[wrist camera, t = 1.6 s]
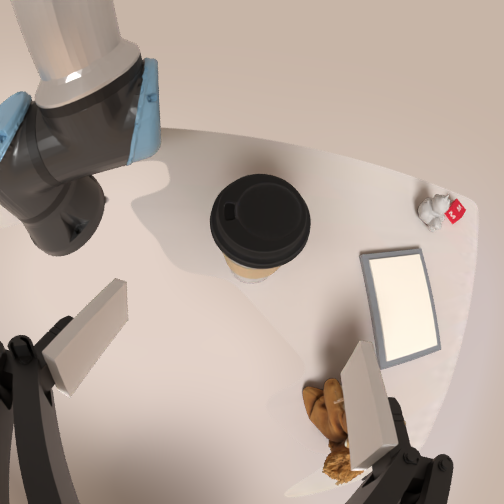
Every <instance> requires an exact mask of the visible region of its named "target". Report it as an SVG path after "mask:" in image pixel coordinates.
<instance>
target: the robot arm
mask: <svg viewBox="0 0 504 504" xmlns="http://www.w3.org/2000/svg"><path fill="white" fill-rule="evenodd" d="M11 3H12V6H13V9H14V12H15V15H16V18H17V21H18V24H19V26H20V29H21V32H22V35H23V37H24V40H25V42H26V45H27V47H28V50H29V52H30V55H31V57H32V59H33V62H34V64H35V66H36V69H37V71H38V73H39V75H40V77H41V81H40V83H39V86H38V88H37V91H36V94H35V101H32V99H31V96H30V95H28V94H27V93H26V92H17V93H15V94H14V95H12V96H10V97H9V98H8V99H6V100H5V101H4V102H3V103H2V104H1V105H0V204H1V205H2V206H3V207H4V208H6V209H7V210H8V211H9V212H11V213H12V214H13V215H14V216H16V217H17V218H18V219H19V220H20V221H22V222H23V224H24V226H25V228H26V229H27V231H28V233H29V234H30V237H31V239H32V240H33V242H34V244H35V245H36V246H37V247H38V248H39V249H41V250H42V251H44V252H45V253H47V254H49V255H52V256H64V255H68V254H70V253H72V252H75V251H76V250H78V249H79V248H80V247H82V246H83V245H84V244H85V243H86V242H87V241H88V240H89V239H90V238H91V236H92V235H93V234H94V232H95V231H96V229H97V227H98V225H99V223H100V221H101V219H102V215H103V211H104V205H105V198H104V193H103V190H102V188H101V186H100V185H99V183H98V182H97V180H96V179H95V178H94V177H93V176H92V175H93V174H96V173H100V172H103V171H107V170H110V169H114V168H118V167H121V166H125V165H127V166H128V165H131V163H133V162H136V161H139V160H142V159H145V158H148V157H151V156H152V155H154V154H155V153H156V152H157V151H158V150H159V148H160V145H161V129H160V111H159V87H158V62H157V60H156V59H149V58H145V59H144V60H142V58H141V53H140V49H139V47H138V45H137V44H135V43H133V42H131V41H128V40H125V39H123V38H122V37H121V36H120V32H119V27H118V23H117V18H116V13H115V8H114V4H113V0H11ZM127 321H128V308H127V282H125V281H122V280H119V279H116V278H115V279H114V280H113V281H112V282H111V283H110V284H109V285H108V286H106V287H105V288H104V289H103V290H102V291H101V292H100V293H99V294H98V295H97V296H96V297H95V298H94V299H93V300H92V301H91V302H90V303H89V304H88V305H87V306H86V307H85V308H84V309H83V310H82V311H81V312H80V313H79V314H78V315H77V316H76V317H75V318H73V317H71V316H66V317H64V318H62V319H60V320H59V321H58V322H57V323H56V324H55V325H54V327H52V328H51V329H50V330H49V332H47V333H46V334H45V335H44V336H43V337H42V338H41V339H40V340H39V341H38V342H37V343H36V344H35V346H33V343H32V341H31V339H30V338H29V337H27V336H25V335H19V336H15V337H14V338H12V339H11V340H10V341H9V344H8V348H9V350H6V349H5V348H4V346H3V344H2V343H1V341H0V504H9V463H10V450H11V449H10V448H11V440H12V431H13V424H14V427H15V438H16V446H17V453H18V458H19V465H20V470H21V475H22V479H23V484H24V488H25V492H26V496H27V500H28V504H80V503H79V500H78V498H77V495H76V492H75V489H74V486H73V483H72V480H71V476H70V473H69V470H68V466H67V463H66V459H65V455H64V451H63V447H62V443H61V438H60V433H59V428H58V423H57V417H56V410H55V404H54V397H53V391H52V387H53V386H54V384H55V385H56V387H57V389H58V391H59V392H61V393H63V394H64V395H66V396H68V397H71V396H72V395H73V393H74V392H75V391H76V389H77V388H78V386H79V385H80V384H81V382H82V381H83V379H84V378H85V377H86V375H87V374H88V372H89V371H90V370H91V368H92V367H93V366H94V364H95V363H96V362H97V360H98V358H99V357H100V356H101V355H102V353H103V352H104V351H105V349H106V348H107V347H108V345H109V344H110V343H111V341H112V340H113V339H114V337H115V336H116V335H117V334H118V332H119V331H120V330H121V329H122V327H123V326H124V325H125V323H126V322H127ZM340 374H341V381H342V388H343V396H344V404H345V412H346V420H347V430H348V440H349V450H350V462H351V471H363V470H367V469H368V468H369V467H371V466H372V469H373V471H372V472H371V473H370V474H368V475H367V476H365V477H364V478H363V479H362V480H365V481H364V482H363V483H362V484H361V486H360V487H359V488H358V489H357V490H356V492H355V493H354V494H353V495H352V497H351V498H350V499H349V500H348V501H347V502H346V503H345V504H447V500H448V496H449V491H450V485H451V479H452V473H453V462H452V460H451V458H450V457H449V456H447V455H445V454H440V455H438V456H437V457H435V458H434V459H431V458H427V457H422V456H421V455H420V453H419V451H418V450H416V449H415V448H413V447H411V445H410V442H409V438H408V433H407V429H406V426H405V422H404V418H403V415H402V411H401V407H400V405H399V403H398V402H397V400H396V399H395V398H393V397H387V393H386V390H385V386H384V382H383V379H382V375H381V372H380V368H379V365H378V362H377V358H376V355H375V352H374V349H373V345H372V342H366V341H361V340H360V341H359V343H358V344H357V346H356V348H355V350H354V351H353V353H352V355H351V357H350V358H349V360H348V362H347V363H346V365H345V367H344V368H343V370H342V372H341V373H340Z"/></svg>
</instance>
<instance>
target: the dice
mask: <svg viewBox="0 0 504 504" xmlns="http://www.w3.org/2000/svg"><path fill="white" fill-rule="evenodd" d="M465 211H466V209H465V208H464V207H463V206H462V204H461V203H460V202H459V201H458V199H455V200H454V201H453V202H452V203H451V204H450V205H449V209H448V210H447V211H446V212H445V213H444V214H445V215H446V216H447V217H448V219H449V220H450V221H451V223H452V224H454V223H455V222H456V221H458V220H459V219H460V218H462V216H463V214H464V213H465Z"/></svg>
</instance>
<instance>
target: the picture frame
mask: <svg viewBox="0 0 504 504" xmlns="http://www.w3.org/2000/svg"><path fill="white" fill-rule="evenodd" d="M359 258H360V262H361V267H362V271H363V276H364V281H365V286H366V291H367V296H368V302H369V307H370V313H371V319H372V325H373V332H374V339H375V346H376V353H377V362H378V365H379V368H380V370H382V369H386V368H389V367H392V366H396V365H399V364H402V363H405V362H408V361H411V360H414V359H417V358H419V357H422V356H425V355H428V354H430V353H433V352H436V351H438V350H441V344H440V336H439V329H438V323H437V317H436V311H435V305H434V300H433V295H432V290H431V286H430V281H429V277H428V273H427V269H426V265H425V261H424V257H423V253H422V250H421V249H411V250H402V251H393V252H383V253H373V254H363V255H360V256H359Z"/></svg>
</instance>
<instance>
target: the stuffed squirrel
mask: <svg viewBox="0 0 504 504" xmlns="http://www.w3.org/2000/svg"><path fill="white" fill-rule="evenodd" d="M303 400H304V404H305V408H306V411H307V414H308V416H309V419H310V420H311V421H312V422H313V424H314V425H315V426H316V427H317V428H318V429H319V430H320V431H321V432H322V434H323V435H324V436H326V437H327V438H328V439H330V440H329V447H330V448H331V449H330V450H331V453H330V454H329V455H328V457H326V458H327V459H326V460H325V463H324V467H323V470H324V471H322V472H323V473H325V474H327V475H328V476H329V477H331V478H332V479H333V478H334V479H336V480H337V481H338V480H339V481H338V482H337V483H336V484H337V485H339V484H340V483H341V484H342V483H344V482H345V483H347V482H348V481H351V480H352V479H353V478H355V477H356V476H357V475H358V474H360V475H361V473H363V472H364V470H363V471H351V462H350V450H349V440H348V430H347V420H346V412H345V404H344V396H343V388H342V386H340V384H339V382H338V381H337V380H336V379H334V378H332V379H328V380H327V381H326V382H325V384H324V390H321V389H318V388H314V387H308V386H307V387H305V389H304V390H303ZM404 422H405V425H406V421H404Z"/></svg>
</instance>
